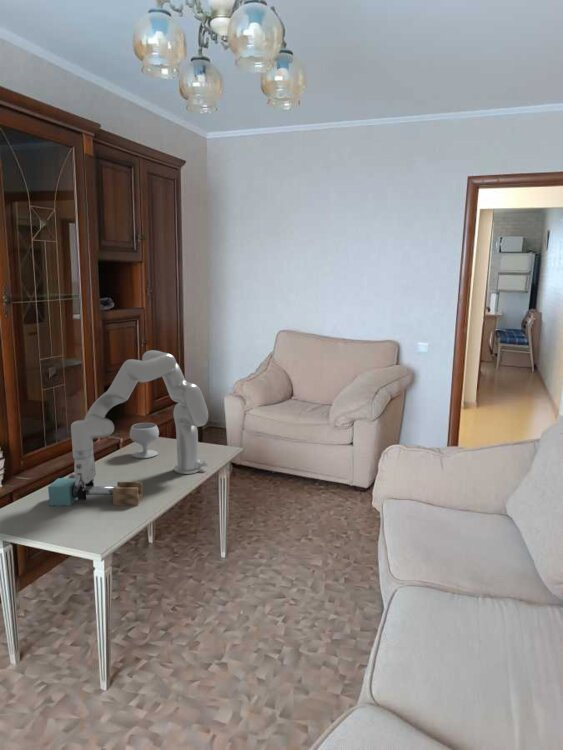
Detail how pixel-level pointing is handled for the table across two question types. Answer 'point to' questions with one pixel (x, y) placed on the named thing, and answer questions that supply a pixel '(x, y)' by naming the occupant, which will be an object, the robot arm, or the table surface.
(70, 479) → the socket block
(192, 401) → the robot arm
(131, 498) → the wooden cradle block
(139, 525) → the table surface
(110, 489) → the rod
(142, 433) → the chalice
